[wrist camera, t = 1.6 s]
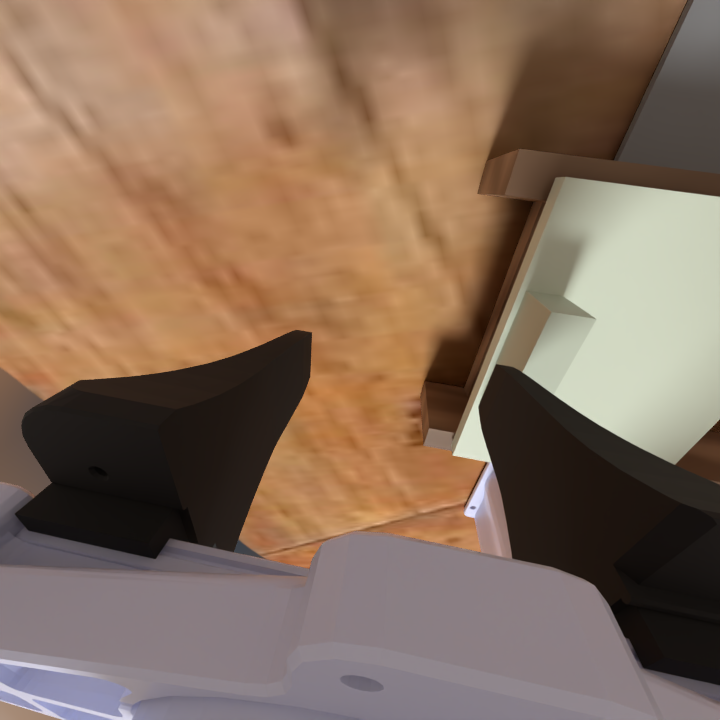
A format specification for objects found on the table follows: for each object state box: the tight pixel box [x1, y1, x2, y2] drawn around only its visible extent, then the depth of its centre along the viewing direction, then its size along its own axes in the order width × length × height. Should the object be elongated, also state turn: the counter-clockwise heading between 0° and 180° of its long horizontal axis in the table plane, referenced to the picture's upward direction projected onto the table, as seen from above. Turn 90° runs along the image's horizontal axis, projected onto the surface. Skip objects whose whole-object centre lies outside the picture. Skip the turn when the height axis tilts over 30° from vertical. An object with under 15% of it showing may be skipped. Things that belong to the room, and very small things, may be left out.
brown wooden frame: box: [420, 149, 720, 484], centre depth 16 cm, size 16×28×5 cm, turn 83°
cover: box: [451, 177, 720, 465], centre depth 13 cm, size 14×11×3 cm
